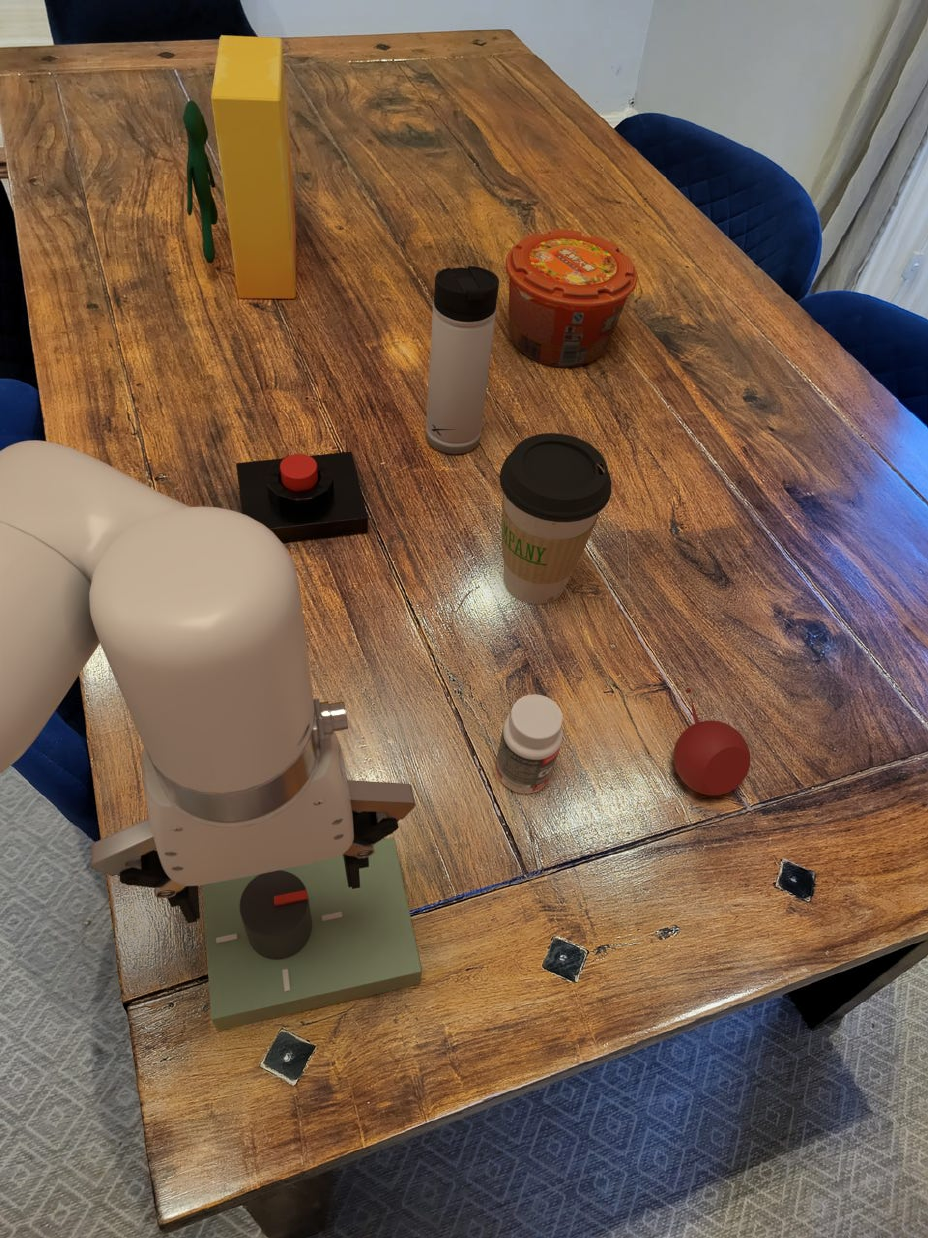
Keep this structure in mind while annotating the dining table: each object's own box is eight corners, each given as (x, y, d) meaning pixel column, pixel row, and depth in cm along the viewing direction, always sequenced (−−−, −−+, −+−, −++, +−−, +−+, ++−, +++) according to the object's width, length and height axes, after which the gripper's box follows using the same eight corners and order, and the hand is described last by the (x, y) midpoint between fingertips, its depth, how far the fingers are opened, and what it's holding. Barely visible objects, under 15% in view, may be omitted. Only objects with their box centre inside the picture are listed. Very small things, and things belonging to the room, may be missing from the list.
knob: (250, 966, 59) (241, 941, 55) (244, 903, 61) (235, 875, 57) (316, 952, 60) (312, 926, 56) (307, 890, 62) (303, 862, 58)
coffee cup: (486, 539, 89) (502, 423, 78) (581, 547, 90) (612, 432, 78) (483, 614, 83) (501, 500, 71) (586, 623, 84) (620, 510, 72)
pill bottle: (542, 802, 71) (559, 751, 65) (487, 784, 72) (498, 731, 66) (557, 755, 74) (575, 701, 68) (504, 737, 75) (517, 682, 68)
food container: (640, 334, 115) (661, 256, 106) (582, 393, 106) (600, 313, 97) (536, 289, 119) (549, 212, 111) (472, 342, 110) (480, 263, 102)
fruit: (717, 758, 78) (719, 678, 75) (757, 791, 73) (761, 707, 70) (657, 776, 76) (656, 695, 73) (693, 811, 71) (694, 726, 68)
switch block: (247, 547, 86) (242, 518, 83) (238, 478, 92) (233, 449, 89) (368, 533, 89) (367, 504, 85) (352, 466, 94) (351, 437, 91)
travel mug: (434, 460, 96) (445, 295, 80) (419, 422, 100) (427, 257, 84) (488, 453, 98) (510, 290, 82) (471, 416, 101) (489, 253, 86)
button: (283, 493, 86) (282, 480, 85) (279, 468, 88) (278, 455, 87) (320, 489, 87) (319, 476, 85) (315, 465, 89) (314, 451, 87)
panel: (217, 1031, 59) (210, 1019, 56) (207, 890, 65) (201, 873, 62) (420, 984, 62) (422, 970, 59) (393, 853, 68) (394, 835, 65)
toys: (206, 228, 122) (175, 32, 103) (296, 230, 124) (281, 37, 105) (197, 298, 112) (161, 94, 93) (295, 299, 113) (280, 98, 94)
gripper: (402, 647, 45) (399, 801, 58) (41, 703, 41) (126, 854, 54) (434, 776, 40) (423, 911, 54) (32, 851, 37) (127, 975, 50)
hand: (273, 882), depth 54 cm, fingers open, 9 cm apart
